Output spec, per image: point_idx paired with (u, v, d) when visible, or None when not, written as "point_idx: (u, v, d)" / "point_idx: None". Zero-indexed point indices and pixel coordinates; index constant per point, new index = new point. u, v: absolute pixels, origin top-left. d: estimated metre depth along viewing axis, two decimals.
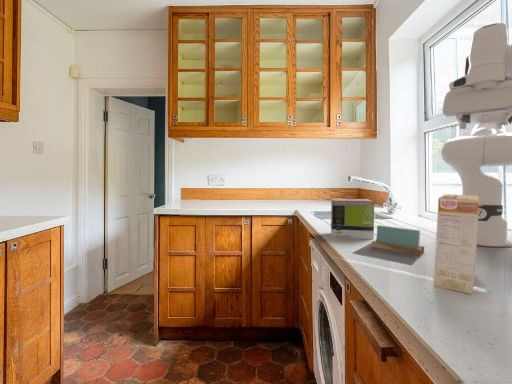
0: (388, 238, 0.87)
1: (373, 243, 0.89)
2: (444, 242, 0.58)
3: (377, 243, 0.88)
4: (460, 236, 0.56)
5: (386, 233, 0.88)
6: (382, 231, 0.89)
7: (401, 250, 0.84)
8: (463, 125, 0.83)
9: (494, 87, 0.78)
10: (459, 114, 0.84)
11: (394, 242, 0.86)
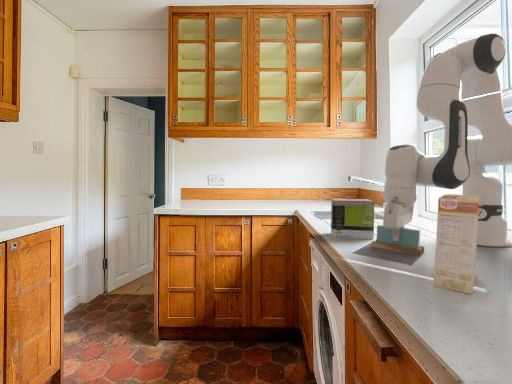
0: (388, 238, 0.87)
1: (373, 243, 0.89)
2: (444, 242, 0.58)
3: (377, 243, 0.88)
4: (460, 236, 0.56)
5: (386, 233, 0.88)
6: (382, 231, 0.89)
7: (401, 250, 0.84)
8: None
9: None
10: None
11: (394, 242, 0.86)
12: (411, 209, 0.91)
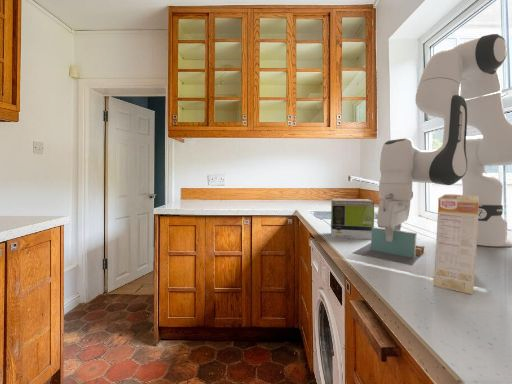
0: (383, 241, 0.83)
1: None
2: (445, 242, 0.58)
3: None
4: (460, 236, 0.56)
5: (381, 236, 0.84)
6: (377, 234, 0.85)
7: None
8: None
9: None
10: None
11: (389, 245, 0.82)
12: (407, 207, 0.86)
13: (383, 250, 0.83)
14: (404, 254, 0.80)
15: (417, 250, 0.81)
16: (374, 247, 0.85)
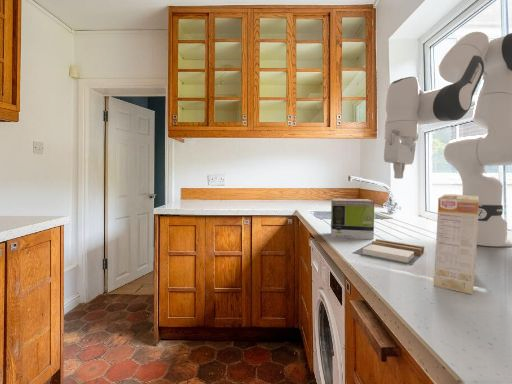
0: None
1: (373, 243, 0.89)
2: (444, 242, 0.58)
3: (377, 243, 0.88)
4: (460, 236, 0.56)
5: None
6: None
7: None
8: None
9: None
10: None
11: None
12: (413, 150, 0.88)
13: None
14: None
15: (417, 250, 0.81)
16: None
